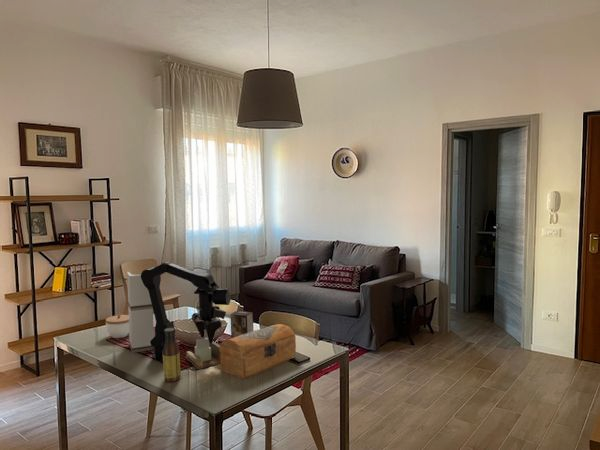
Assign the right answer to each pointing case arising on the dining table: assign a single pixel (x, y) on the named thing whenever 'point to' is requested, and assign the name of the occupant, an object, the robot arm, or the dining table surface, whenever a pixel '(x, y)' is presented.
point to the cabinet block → (203, 349)
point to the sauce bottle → (171, 356)
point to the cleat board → (214, 360)
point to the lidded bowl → (118, 325)
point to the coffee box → (241, 323)
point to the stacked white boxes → (139, 314)
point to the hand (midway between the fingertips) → (206, 339)
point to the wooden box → (257, 350)
